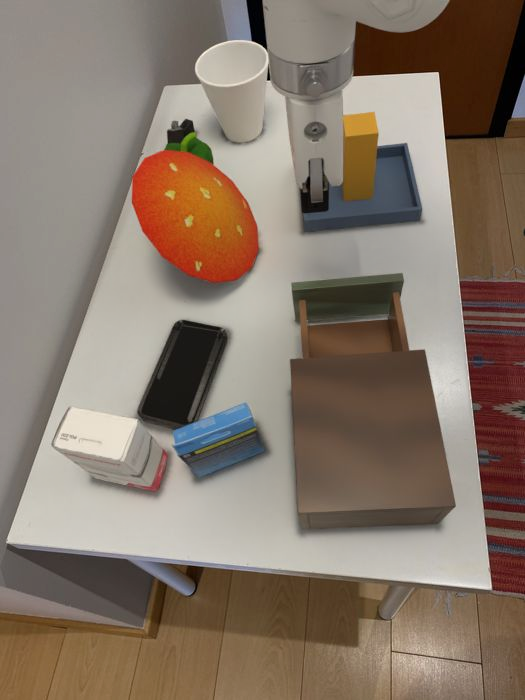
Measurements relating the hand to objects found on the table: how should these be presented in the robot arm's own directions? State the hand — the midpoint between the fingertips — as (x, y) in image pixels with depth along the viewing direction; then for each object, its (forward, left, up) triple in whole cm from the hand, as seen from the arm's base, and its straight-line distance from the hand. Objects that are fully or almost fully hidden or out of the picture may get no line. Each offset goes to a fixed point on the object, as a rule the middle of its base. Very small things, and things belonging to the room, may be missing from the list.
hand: (314, 207), depth 61 cm
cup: (+11, -34, -14) cm, 38 cm away
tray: (-7, -16, -14) cm, 22 cm away
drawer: (-3, +14, -13) cm, 19 cm away
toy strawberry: (+16, -7, -14) cm, 22 cm away
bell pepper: (+19, -20, -14) cm, 31 cm away
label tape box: (+13, +25, -14) cm, 32 cm away
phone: (+19, +14, -14) cm, 27 cm away
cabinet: (-3, +26, -14) cm, 30 cm away
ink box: (+25, +26, -14) cm, 39 cm away
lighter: (+22, -31, -14) cm, 41 cm away
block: (-7, -16, -14) cm, 22 cm away
